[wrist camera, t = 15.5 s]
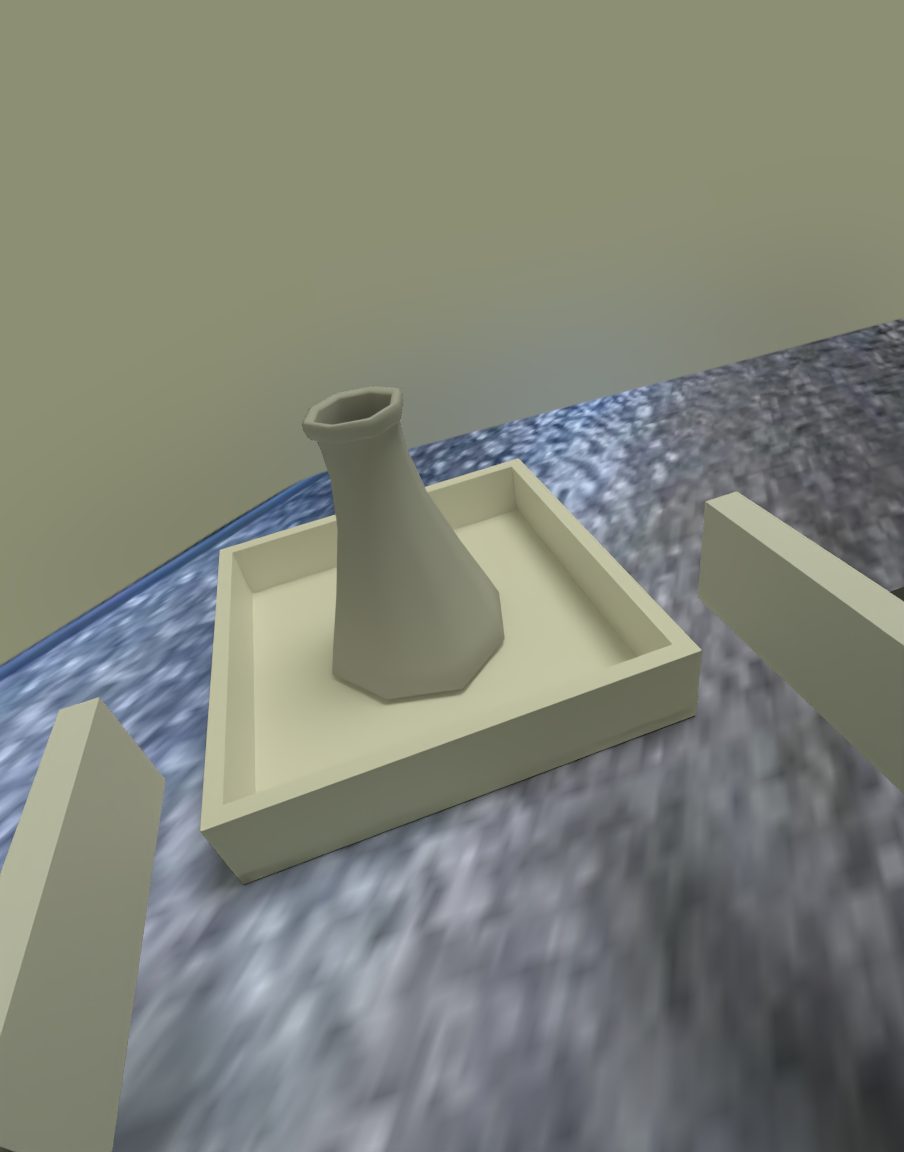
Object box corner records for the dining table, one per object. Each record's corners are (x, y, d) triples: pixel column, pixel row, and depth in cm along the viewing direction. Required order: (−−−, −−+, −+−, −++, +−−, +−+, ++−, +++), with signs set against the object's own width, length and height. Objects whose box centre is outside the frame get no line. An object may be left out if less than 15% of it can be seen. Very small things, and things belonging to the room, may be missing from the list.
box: (525, 509, 32) (518, 458, 30) (696, 715, 20) (701, 650, 18) (244, 598, 30) (220, 549, 28) (243, 884, 18) (200, 831, 16)
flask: (376, 578, 28) (308, 370, 23) (525, 585, 26) (491, 354, 20) (303, 693, 23) (190, 463, 17) (481, 716, 21) (419, 456, 15)
